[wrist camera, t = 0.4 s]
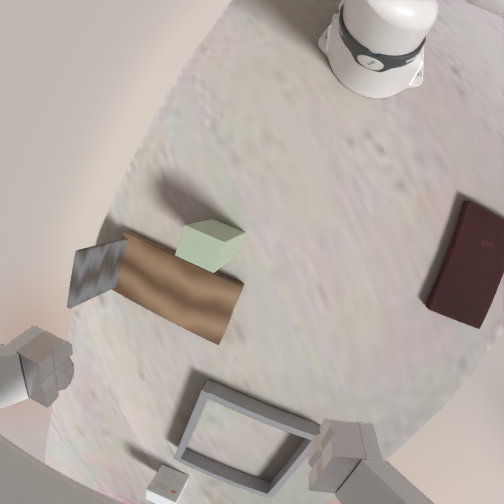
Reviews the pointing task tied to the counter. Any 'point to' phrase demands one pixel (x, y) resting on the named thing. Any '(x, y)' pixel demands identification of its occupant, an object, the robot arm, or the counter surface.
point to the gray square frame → (254, 411)
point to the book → (470, 267)
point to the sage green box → (209, 244)
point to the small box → (167, 486)
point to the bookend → (156, 284)
